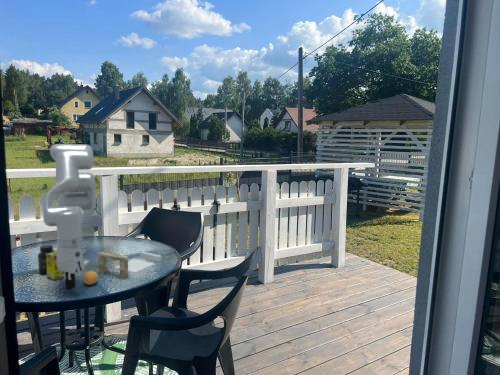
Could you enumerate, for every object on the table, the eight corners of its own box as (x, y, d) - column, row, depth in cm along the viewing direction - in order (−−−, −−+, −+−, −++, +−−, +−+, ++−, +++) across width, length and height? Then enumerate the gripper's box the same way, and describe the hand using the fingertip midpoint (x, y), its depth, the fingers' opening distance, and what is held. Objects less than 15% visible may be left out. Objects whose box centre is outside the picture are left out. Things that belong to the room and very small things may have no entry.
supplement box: (54, 281, 155) (53, 256, 154) (46, 278, 158) (45, 253, 157) (68, 277, 160) (67, 252, 159) (60, 273, 163) (59, 249, 162)
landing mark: (135, 272, 167) (135, 272, 167) (114, 267, 173) (114, 267, 173) (155, 264, 178) (155, 263, 178) (134, 259, 184) (134, 259, 184)
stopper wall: (159, 261, 182) (159, 256, 181) (140, 257, 187) (140, 252, 187) (161, 260, 184) (161, 255, 183) (143, 256, 189) (143, 251, 188)
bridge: (123, 279, 160) (122, 258, 158) (99, 272, 166) (98, 252, 165) (128, 276, 162) (128, 256, 161) (104, 270, 169) (103, 250, 167)
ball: (82, 287, 150) (82, 274, 149) (84, 282, 155) (83, 269, 154) (97, 286, 152) (97, 273, 151) (98, 281, 157) (98, 268, 156)
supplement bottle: (35, 275, 161) (33, 248, 159) (45, 269, 168) (43, 243, 166) (50, 276, 161) (49, 249, 159) (59, 270, 167) (58, 244, 166)
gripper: (90, 243, 142) (92, 288, 145) (64, 237, 149) (66, 281, 151) (73, 248, 135) (75, 296, 138) (46, 241, 142) (49, 287, 145)
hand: (70, 288), depth 145 cm, fingers closed
